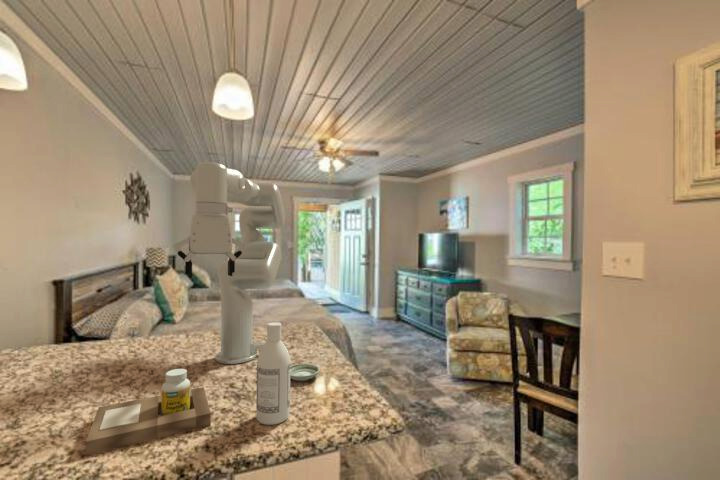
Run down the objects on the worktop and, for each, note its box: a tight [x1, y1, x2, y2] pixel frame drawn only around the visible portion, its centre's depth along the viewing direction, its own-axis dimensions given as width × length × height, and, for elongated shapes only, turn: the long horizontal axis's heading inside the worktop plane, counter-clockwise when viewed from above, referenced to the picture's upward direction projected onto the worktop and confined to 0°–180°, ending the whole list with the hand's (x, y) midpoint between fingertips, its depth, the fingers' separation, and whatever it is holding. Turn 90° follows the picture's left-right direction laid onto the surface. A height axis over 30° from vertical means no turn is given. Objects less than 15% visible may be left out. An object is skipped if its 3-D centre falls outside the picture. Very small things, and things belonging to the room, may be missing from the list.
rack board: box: [85, 386, 212, 457], centre depth 70 cm, size 20×14×3 cm
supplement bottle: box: [160, 368, 191, 416], centre depth 72 cm, size 5×5×10 cm
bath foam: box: [255, 322, 291, 426], centre depth 72 cm, size 7×7×20 cm
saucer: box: [290, 363, 321, 382], centre depth 93 cm, size 10×10×2 cm
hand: (210, 276), depth 88 cm, fingers open, 9 cm apart
